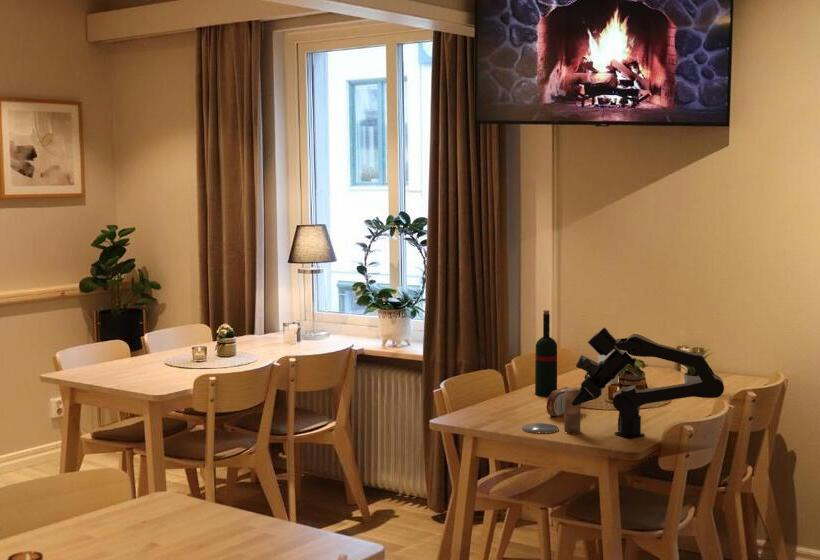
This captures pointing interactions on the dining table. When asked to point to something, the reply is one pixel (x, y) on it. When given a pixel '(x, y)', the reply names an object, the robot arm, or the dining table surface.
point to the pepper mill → (571, 412)
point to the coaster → (540, 427)
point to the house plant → (692, 370)
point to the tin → (556, 402)
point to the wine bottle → (545, 361)
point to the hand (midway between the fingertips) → (574, 401)
